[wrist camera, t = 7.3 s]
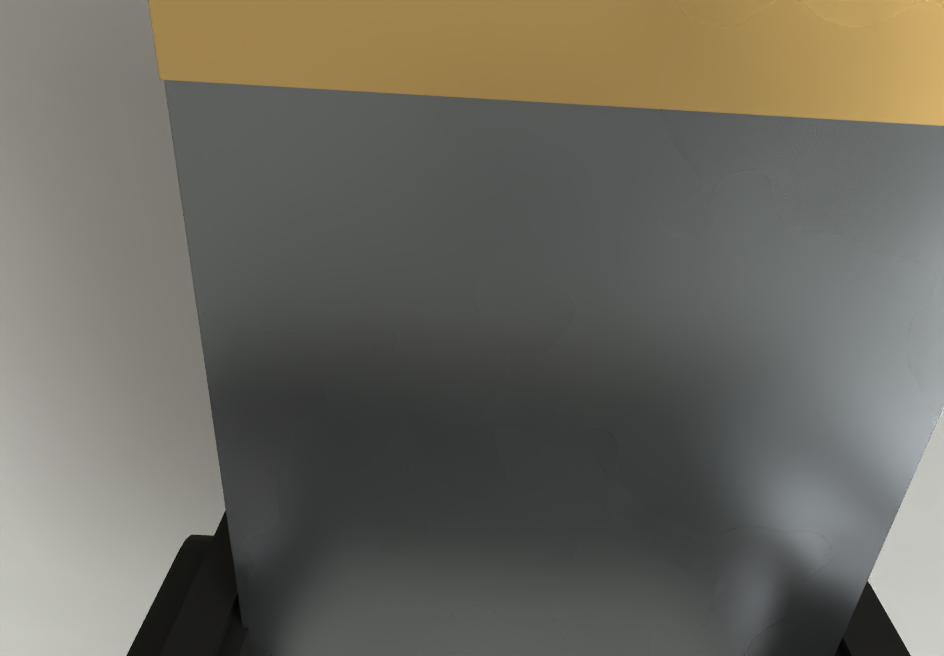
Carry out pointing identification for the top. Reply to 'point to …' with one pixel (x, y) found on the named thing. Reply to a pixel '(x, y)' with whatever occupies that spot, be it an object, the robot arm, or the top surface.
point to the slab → (561, 313)
